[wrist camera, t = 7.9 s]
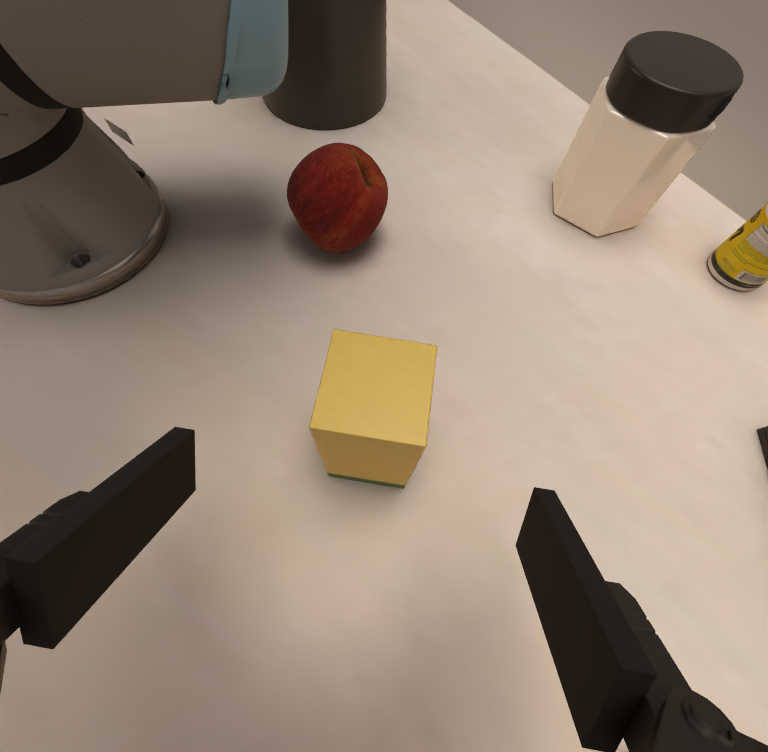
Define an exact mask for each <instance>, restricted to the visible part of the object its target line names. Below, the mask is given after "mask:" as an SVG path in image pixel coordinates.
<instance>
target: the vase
mask: <svg viewBox="0 0 768 752" xmlns="http://www.w3.org/2000/svg"><path fill="white" fill-rule="evenodd" d="M263 98H264V101H265V103H266V105H267V106H268V108H269V109H270V110H271V111H272V112H273V113H274V114H275V115H277V116H278V117H279V118H281V119H283V120H285V121H287V122H289V123H291V124H294V125H297V126H301V127H305V128H311V129H323V130H328V129H340V128H346V127H350V126H354V125H357V124H359V123H362V122H364V121H366V120H368V119H369V118H371V117H372V116H374V115H375V114H376V113H377V112H378V111H379V110H380V109H381V107H382V106H383V104H384V101H385V98H386V0H288V64H287V70H286V74H285V76H284V79H283V82H282V83H281V84H280V85H279V87H278V88H277V89H276V90H275V91H274V92H272V93H270V94H268V95H264V96H263Z"/></svg>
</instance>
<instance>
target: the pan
mask: <svg viewBox="0 0 768 752" xmlns="http://www.w3.org/2000/svg"><path fill="white" fill-rule="evenodd" d="M758 433H759V437H760V441H761V444H762V448H763V452H764V455H765V459H766V462H767V466H768V426H767V427H764V428H761V429H758Z"/></svg>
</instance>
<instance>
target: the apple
mask: <svg viewBox="0 0 768 752" xmlns="http://www.w3.org/2000/svg"><path fill="white" fill-rule="evenodd" d="M287 199H288V203H289V206H290V209H291V210H292V212H293V214H294V216H295V218H296V220H297V221H298V223H299V225H300V227H301V229H302V230H303V231H304V233H305V234H306V236H307V237H308V238H309V239H310V240H311V241H312V242H313V243H314V244H316V245H317V246H319V247H320V248H322V249H324V250H327V251H331V252H343V251H347V250H350V249H353V248H356V247H357V246H359V245H361V244H362V243H364V242H365V241H366V240H367V239H368V238H369V237H370V236H371V234H372V233H373V232H374V230H375V229H376V227H377V226H378V224H379V222H380V221H381V219H382V216H383V214H384V211H385V208H386V205H387V199H388V187H387V182H386V179H385V176H384V175H383V173H382V172H381V170H380V168H379V166H378V165H377V164H376V163H375V161H374V160H373V159H372V157H371V156H369V155H368V154H367V153H365V152H364V151H363V150H362V149H360V148H358V147H356V146H354V145H350V144H345V143H332V144H328V145H325V146H322V147H320V148H318V149H316V150H314V151H313V152H311V153H310V154H308V155H307V156H306V157H305V158H304V159H303V160H302V161H301V162H300V163H299V164H298V165H297V167H296V168H295V169H294V171H293V172H292V174H291V176H290V179H289V182H288V186H287Z"/></svg>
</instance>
